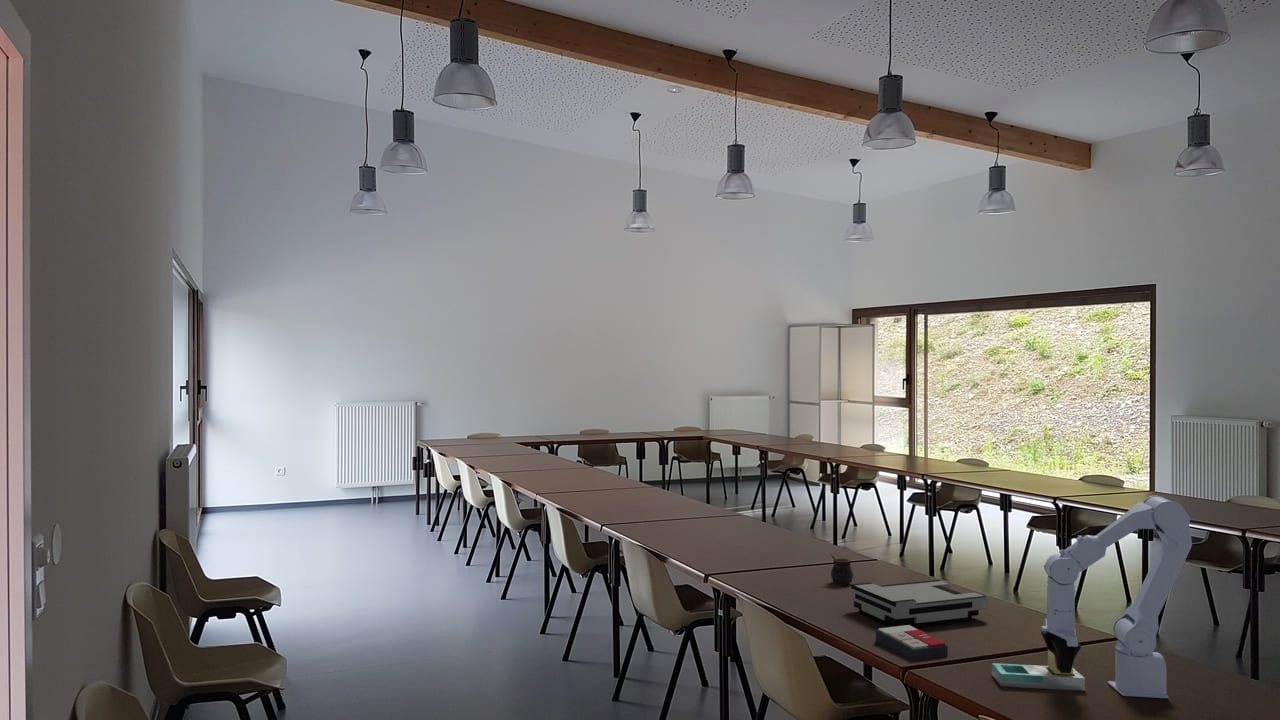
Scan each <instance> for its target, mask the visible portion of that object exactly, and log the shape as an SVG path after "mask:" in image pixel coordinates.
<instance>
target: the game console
mask: <svg viewBox="0 0 1280 720" xmlns="http://www.w3.org/2000/svg"><path fill="white" fill-rule="evenodd" d="M850 584H851V585H850V600H851V601H853V607H854V608H855V609H859V610H858V612H861V613H863V614H865V615H867V616H869V617H872V618H873V617H876V618H878V619H880V620H882V621H885V622H886V623H887V625H890V627H896V626H904V625H910V626H912V627H914V628H916V629H919V628H927V627H936V626H944V625H945V626H946V625H953V624H960V623H961V624H962V623H968V622H972V621H973V617H976V616H980V613H979V612H980V611H981V610H987V609H988V607H989V605H988V604H989V603H988V602H989V601H988V599H989V598H988V596H986V595H983V594H980V593H978V592H968V593H962V592H960V591H956V590H954V589H951V588H950V587H951V586H950V583H948V582H946V581H942V580H940V579H936V580H935V579H933V580H924V581H914V582H913V581H912V582H904V583H902V582H901V583H894V584H891V583H890V584H884V585H882V584H880V585H878V584H875V583H874V582H860V583H850Z"/></svg>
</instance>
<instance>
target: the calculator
mask: <svg viewBox="0 0 1280 720" xmlns="http://www.w3.org/2000/svg"><path fill="white" fill-rule="evenodd" d="M875 643H877V644H878V645H880V646H882V647H884V648H888V649H889V650H891V651H893V652H895V653H897V654H898V655H900V656H903V657H905V658H906V659H909V660H911V661H918V660H925V659H934V658H941V657H947V656H948V649H949V646H948V645H947V644H946V642H944V641H942V640H940V639H938V638H936V637H934V636H933V635H931V634H929V633H927V632H925V631H923V630H921V629H919V628H914V627H912V626H910V625H904V626H896V627H893V626H889V627H882V628H881V627H880V628H877V629H876V630H875Z"/></svg>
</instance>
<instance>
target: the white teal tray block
mask: <svg viewBox="0 0 1280 720" xmlns="http://www.w3.org/2000/svg"><path fill="white" fill-rule="evenodd" d="M991 676H992V677H993V678H994V679H995V680H996V682H997V683H998V684H999V685H1000V687H1008V688H1009V687H1011V688H1026V689H1027V688H1028V689H1031V688H1032V689H1046V690H1047V689H1048V690H1065V691H1081V692H1082V691H1083V692H1084V691H1086V678H1085V677H1084V676H1083V675H1082V674H1081V673H1080V672H1078V671H1077V670H1076V669H1075V667H1073V676H1062V675H1052V674H1051V673H1050V672H1049V671H1048V665H1036V664H1035V665H1034V664H1033V665H1032V664H1013V663H997V662H996V663H991Z"/></svg>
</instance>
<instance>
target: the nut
mask: <svg viewBox="0 0 1280 720" xmlns="http://www.w3.org/2000/svg"><path fill="white" fill-rule="evenodd" d="M1047 666H1048V671H1049V672H1050V673H1051V674H1052V675H1062V676H1073V668H1074V665H1073V666H1072V669H1071V672H1070V673H1061V672H1060V671H1059V666H1058V658H1057V653H1056V650H1055V649H1048V650H1047Z"/></svg>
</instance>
